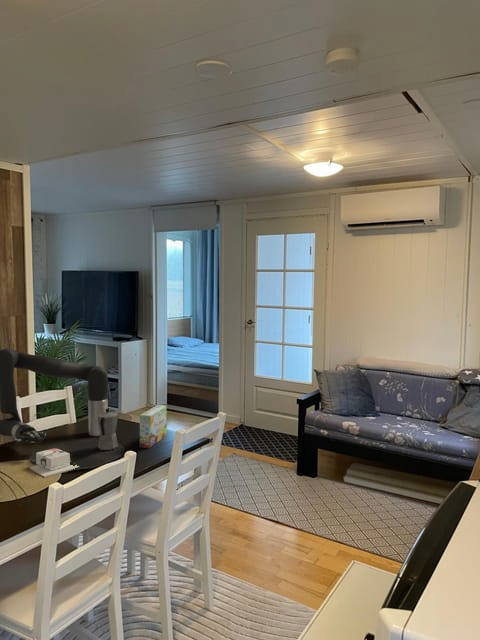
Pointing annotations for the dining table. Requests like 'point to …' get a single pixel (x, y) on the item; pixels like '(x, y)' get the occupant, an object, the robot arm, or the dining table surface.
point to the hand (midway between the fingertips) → (40, 441)
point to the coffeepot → (107, 430)
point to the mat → (47, 473)
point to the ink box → (53, 459)
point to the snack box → (153, 426)
